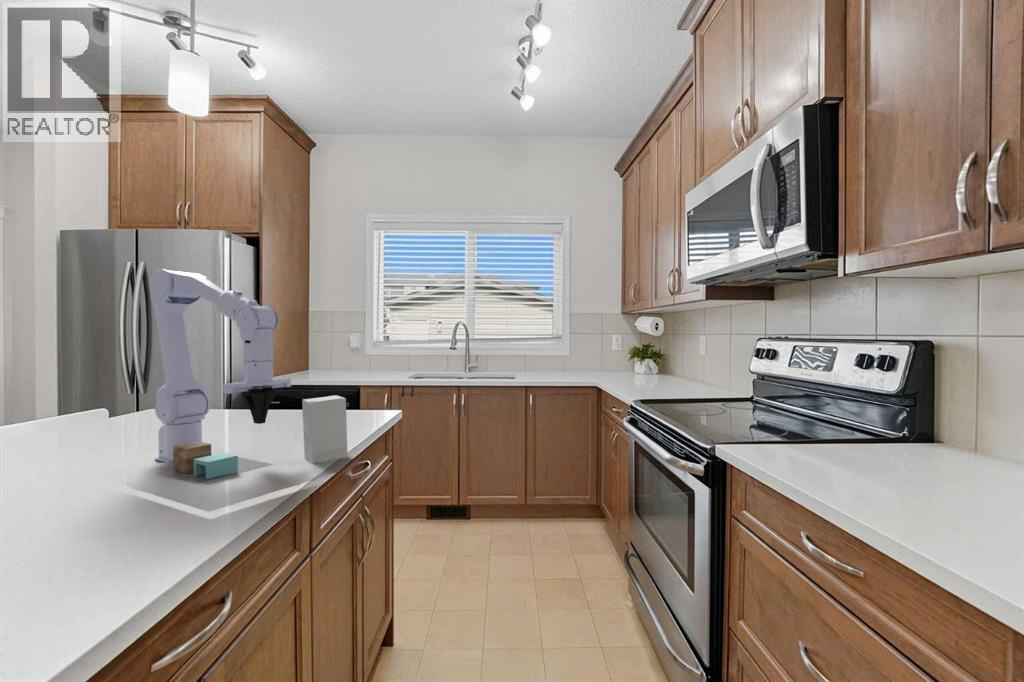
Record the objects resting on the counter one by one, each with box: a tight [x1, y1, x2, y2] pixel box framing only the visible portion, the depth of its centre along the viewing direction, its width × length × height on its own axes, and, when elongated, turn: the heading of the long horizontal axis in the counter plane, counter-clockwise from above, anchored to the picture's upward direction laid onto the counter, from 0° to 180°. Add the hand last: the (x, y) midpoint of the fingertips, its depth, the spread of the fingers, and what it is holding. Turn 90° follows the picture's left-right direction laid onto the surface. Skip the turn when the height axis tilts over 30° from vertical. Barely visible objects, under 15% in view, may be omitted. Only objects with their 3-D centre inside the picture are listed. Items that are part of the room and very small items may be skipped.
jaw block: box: [172, 441, 212, 473], centre depth 105 cm, size 5×5×5 cm
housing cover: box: [194, 452, 239, 479], centre depth 102 cm, size 5×6×3 cm
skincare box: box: [301, 395, 349, 465], centre depth 114 cm, size 8×6×15 cm
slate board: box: [156, 456, 274, 485], centre depth 106 cm, size 15×16×4 cm
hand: (259, 423), depth 110 cm, fingers closed
